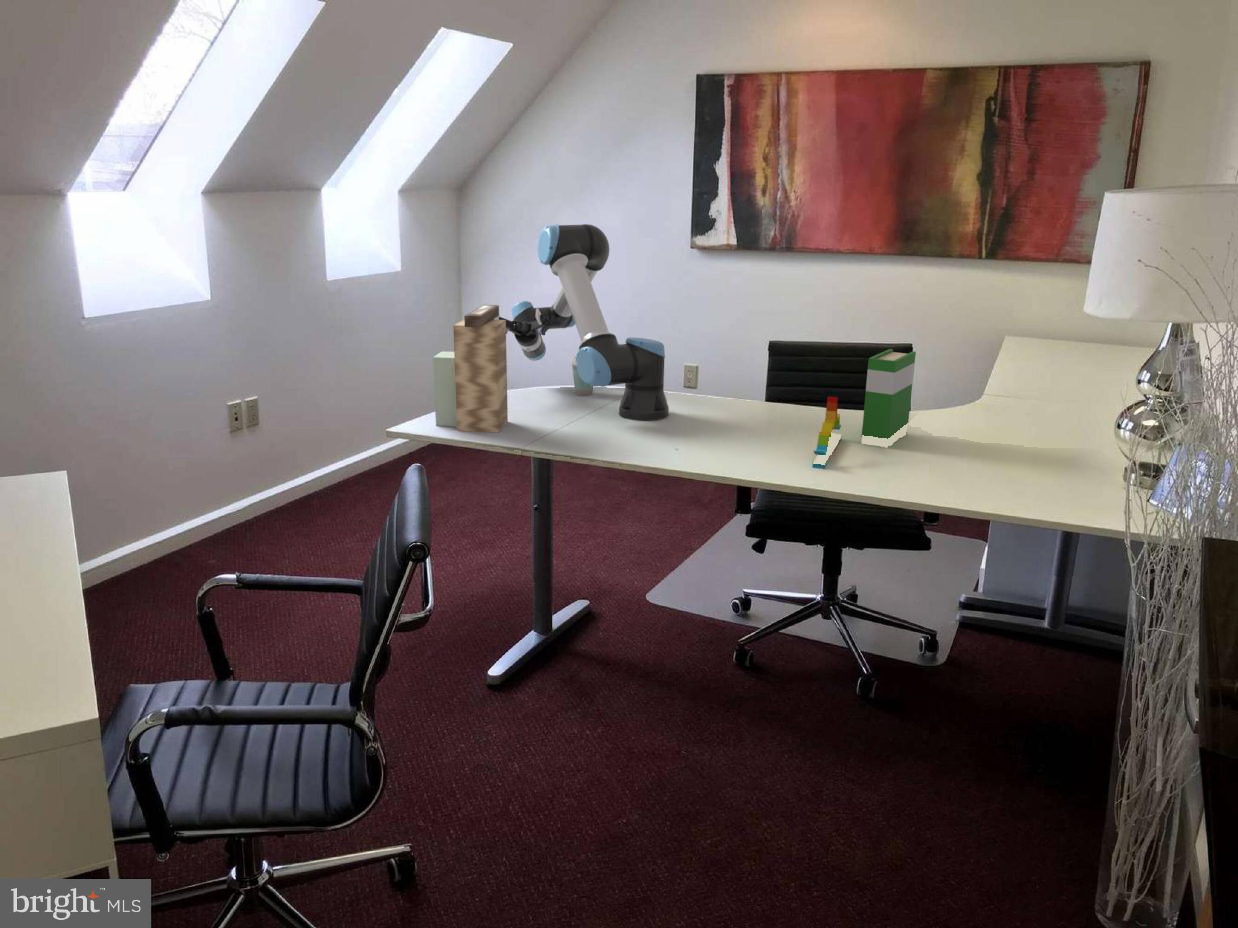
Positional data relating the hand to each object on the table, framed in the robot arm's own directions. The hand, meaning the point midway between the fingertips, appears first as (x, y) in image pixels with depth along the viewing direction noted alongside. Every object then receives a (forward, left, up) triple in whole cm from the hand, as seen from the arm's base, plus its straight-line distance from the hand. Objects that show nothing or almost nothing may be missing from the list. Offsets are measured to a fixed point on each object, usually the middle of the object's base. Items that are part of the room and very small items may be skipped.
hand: (515, 311), depth 294 cm
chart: (-93, +38, -30) cm, 104 cm away
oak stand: (+4, +26, -29) cm, 39 cm away
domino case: (+4, +23, +1) cm, 23 cm away
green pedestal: (+14, +23, -29) cm, 40 cm away
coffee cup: (-19, -20, -30) cm, 40 cm away
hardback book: (-110, +22, -30) cm, 116 cm away
